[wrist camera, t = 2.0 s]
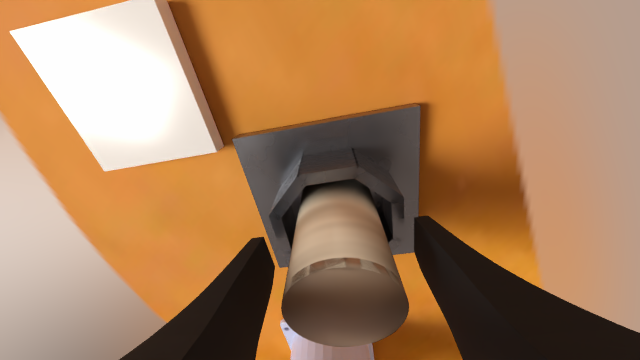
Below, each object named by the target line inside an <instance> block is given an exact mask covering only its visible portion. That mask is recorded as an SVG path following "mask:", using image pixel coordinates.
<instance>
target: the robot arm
mask: <svg viewBox="0 0 640 360" xmlns="http://www.w3.org/2000/svg"><path fill="white" fill-rule="evenodd" d="M414 252H415V255H416V258H417V261H418V263H419V266H420V269H421V271H422V273H423V275H424V277H425V279H426V281H427V283H428V285H429V287H430V289H431V291H432V293H433V295H434V297H435V299H436V301H437V303H438V305H439V307H440V309H441V311H442V313H443V315H444V317H445V319H446V321H447V323H448V325H449V327H450V329H451V331H452V334H453V336H454V339H455V341H456V344H457V346H458V349H459V351H460V353H461V356H462V358H463V360H640V333H638V332H636V331H633V330H630V329H628V328H626V327H623V326H621V325H618V324H616V323H614V322H612V321H609V320H607V319H605V318H602V317H600V316H598V315H595V314H593V313H591V312H589V311H586V310H584V309H582V308H580V307H578V306H575V305H573V304H571V303H569V302H567V301H565V300H563V299H561V298H559V297H557V296H555V295H553V294H550V293H549V292H547V291H545V290H543V289H541V288H539V287H537V286H535V285H533V284H531V283H529V282H527V281H525V280H524V279H522V278H520V277H518V276H516V275H515V274H513V273H511V272H509V271H508V270H506V269H504V268H502V267H501V266H499V265H497V264H496V263H494V262H493V261H491V260H489V259H488V258H486V257H485V256H483V255H482V254H480V253H478V252H477V251H475V250H474V249H473V248H471V247H470V246H468V245H467V244H465V243H464V242H463V241H461V240H460V239H458V238H457V237H456V236H454V235H453V234H452V233H450V232H449V231H448V230H446V229H445V228H444V227H442V226H441V225H440V224H438V223H437V222H436V221H434V220H433V219H432V218H430V217H429V216H421V217H414ZM274 270H275V266H274V263H273V260H272V258H271V255H270V252H269V250H268V247H267V245H266V242H265V239H264V237H259V238H252V239H251V240H250V241H249V242H248V243H247V244H246V245H245V246H244V247H243V249H242V250H241V251H240V252H239V253H238V254H237V255H236V257H235V258H234V259H233V260H232V261H231V262H230V263H229V264H228V266H227V267H226V268H225V269H224V270H223V271H222V272H221V273H220V274H219V275H218V276H217V277H216V278H215V280H214V281H213V282H212V283H211V284H210V285H209V286H208V287H207V288H206V289H205V290H204V291H203V292H202V293H201V294H200V295H199V296H198V297H197V298H196V299H195V300H193V301H192V302H191V303H190V304H189V305H188V306H187V307H186V308H185V309H183V310H182V311H181V312H180V313H179V314H178V315H177V316H175V317H174V318H173V319H172V320H171V321H169V322H168V323H167V324H166V325H164V326H163V327H162V328H161V329H159V330H158V331H157V332H156V333H155V334H153V335H152V336H151V337H150V338H148V339H147V340H146V341H144V342H143V343H142V344H140V345H139V346H137V347H136V348H135V349H133V350H132V351H131V352H129V353H128V354H126V355H125V356H124V357H122V358H121V359H120V360H255V357H256V351H257V346H258V341H259V337H260V333H261V329H262V325H263V321H264V317H265V314H266V310H267V306H268V302H269V298H270V294H271V290H272V285H273V278H274ZM280 326H281V328H282V331H283V333H284V335H285V337H286V340H287V342H288V344H289V347H290V349H291V359H290V360H374V353H373V345H372V343H370V344H366V345H361V346H354V347H335V346H327V345H322V344H318V343H315V342H312V341H310V340H307V339H305V338H303V337H302V336H300V335H298V334H297V333H296V332H294V331H293V330H292V329H291V328H290V327H289V326H288V325H287V323H286V322H285V320H284V319H282V320H281V323H280Z"/></svg>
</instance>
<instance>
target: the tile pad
mask: <svg viewBox="0 0 640 360" xmlns="http://www.w3.org/2000/svg"><path fill="white" fill-rule="evenodd" d="M10 33H11V34H12V35H13V37H14V38H15V40H16V41H17V43H18V44H19V46H20V47H21V49H22V50H23V52H24V53H25V55H26V56H27V58H28V59H29V61H30V62H31V63H32V65H33V66H34V68H35V69H36V71H37V72H38V74H39V75H40V77H41V78H42V80H43V81H44V83H45V84H46V86H47V87H48V89H49V90H50V91H51V93H52V94H53V96H54V97H55V99H56V100H57V102H58V103H59V105H60V106H61V108H62V109H63V111H64V112H65V114H66V115H67V117H68V118H69V119H70V121H71V122H72V124H73V125H74V127H75V128H76V130H77V131H78V133H79V134H80V136H81V137H82V139H83V140H84V142H85V143H86V145H87V146H88V147H89V149H90V150H91V152H92V153H93V155H94V156H95V158H96V159H97V161H98V162H99V164H100V165H101V167H102V168H103V170H104V171H110V170H116V169H122V168H127V167H133V166H139V165H145V164H150V163H156V162H162V161H168V160H174V159H179V158H185V157H191V156H197V155H202V154H208V153H214V152H217V151H219V150H220V149H221V148H222V147H224V145H223V142H222V140H221V137H220V134H219V132H218V129H217V127H216V124H215V122H214V119H213V117H212V114H211V112H210V109H209V106H208V104H207V101H206V99H205V96H204V94H203V91H202V89H201V86H200V83H199V81H198V78H197V76H196V73H195V71H194V68H193V66H192V63H191V61H190V58H189V55H188V53H187V50H186V48H185V45H184V43H183V40H182V38H181V35H180V32H179V30H178V27H177V25H176V22H175V20H174V17H173V15H172V12H171V10H170V7H169V4H168V2H167V1H166V0H130V1H126V2H123V3H119V4H115V5H111V6H107V7H103V8H99V9H95V10H92V11H88V12H84V13H80V14H76V15H72V16H68V17H64V18H60V19H57V20H53V21H49V22H45V23H41V24H37V25H33V26H29V27H26V28H22V29H18V30H14V31H10Z"/></svg>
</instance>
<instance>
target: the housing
mask: <svg viewBox="0 0 640 360" xmlns="http://www.w3.org/2000/svg"><path fill="white" fill-rule="evenodd" d="M232 140H233V143H234V146H235V149H236V151H237V154H238V157H239V159H240V162H241V165H242V167H243V170H244V173H245V176H246V178H247V181H248V184H249V186H250V189H251V192H252V194H253V197H254V200H255V203H256V205H257V208H258V211H259V213H260V216H261V219H262V221H263V224H264V227H265V230H266V232H267V235H268V238H269V240H270V243H271V246H272V248H273V251H274V254H275V257H276V259H277V262H278V265H279V267H280V268H282V267H289V261H290V256H291V250H292V245H293V239H294V234H295V229H296V223H297V218H298V212H299V207H300V201H301V196H302V192H303V190H304V188H305V186H307V185H314V184H320V183H327V182H333V181H340V180H347V179H353V178H354V179H356V180H358V181H359V182H361V183H362V184H364V185H365V186H367V187H368V188H369V189H370V192H371V194H372V197H373V200H374V203H375V206H376V209H377V212H378V215H379V218H380V220H381V223H382V226H383V229H384V232H385V235H386V238H387V241H388V244H389V247H390V249H391V252H392V255H396V254H404V253H413V252H414V217H418V212H419V155H420V105H418V104H416V103H412V104H407V105H401V106H396V107H390V108H385V109H379V110H374V111H368V112H362V113H357V114H351V115H346V116H340V117H335V118H329V119H324V120H318V121H312V122H307V123H301V124H296V125H290V126H285V127H279V128H274V129H268V130H262V131H257V132H251V133H246V134H240V135H237V136H235V137H234V138H233V139H232Z"/></svg>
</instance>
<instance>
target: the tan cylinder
mask: <svg viewBox="0 0 640 360" xmlns="http://www.w3.org/2000/svg"><path fill="white" fill-rule="evenodd" d="M281 309H282V315H283V318H284V320H285V322H286V323H287V325H288V326H289V327H290V328H291V329H292V330H293V331H294V332H296V333H297V334H298V335H300V336H302V337H303V338H305V339H307V340H310V341H312V342H315V343H318V344H322V345H327V346H335V347H354V346H361V345H366V344H370V343H374V342H376V341H379V340H381V339H384V338H386V337H387V336H389V335H391V334H392V333H394V332H395V331H396V330H397V329H398V328H399V327H400V326H401V325H402V324H403V323H404V321H405V319H406V317H407V315H408V311H409V303H408V299H407V296H406V293H405V290H404V287H403V284H402V281H401V278H400V275H399V273H398V270H397V267H396V264H395V261H394V258H393V255H392V252H391V249H390V247H389V244H388V241H387V238H386V235H385V232H384V229H383V226H382V223H381V220H380V218H379V215H378V212H377V209H376V206H375V203H374V200H373V197H372V194H371V192H370V189H369V188H368V187H367V186H365V185H364V184H362V183H361V182H359V181H358V180H356V179H354V178H353V179H347V180H340V181H333V182H327V183H320V184H314V185H307V186H305V188H304V190H303V192H302V196H301V201H300V207H299V212H298V218H297V223H296V229H295V234H294V239H293V245H292V250H291V256H290V261H289V267H288V272H287V278H286V283H285V289H284V294H283V299H282V307H281Z"/></svg>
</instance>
